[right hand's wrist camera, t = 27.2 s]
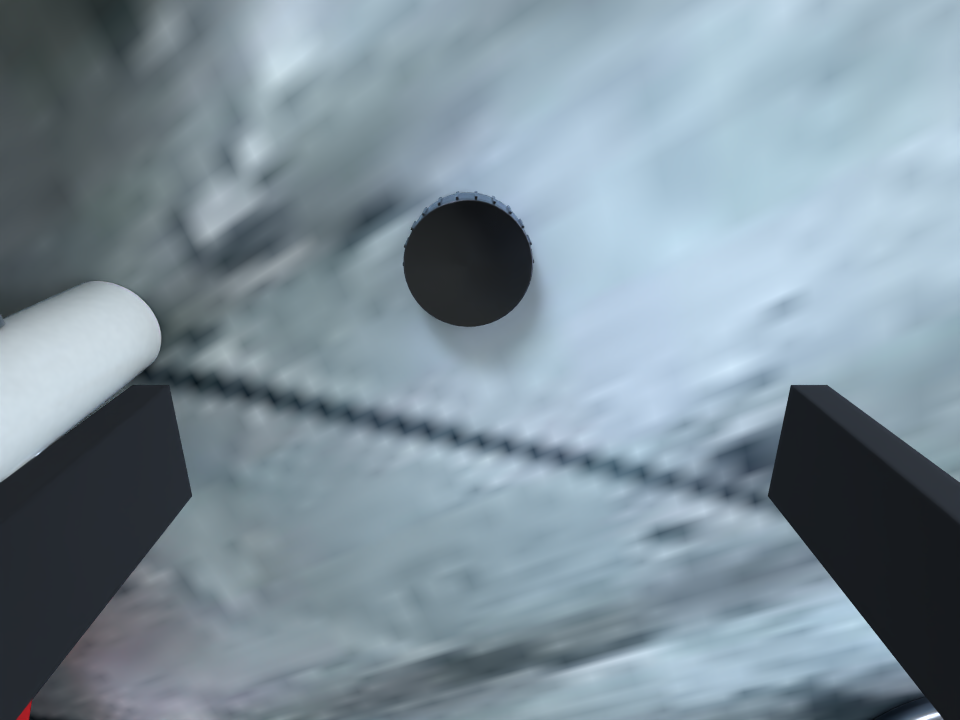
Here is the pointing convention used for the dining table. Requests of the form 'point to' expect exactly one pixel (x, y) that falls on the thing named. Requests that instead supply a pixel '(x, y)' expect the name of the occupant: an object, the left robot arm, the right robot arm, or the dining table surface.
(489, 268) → the lid
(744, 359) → the dining table surface
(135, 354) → the bottle
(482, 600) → the dining table surface
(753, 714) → the dining table surface
